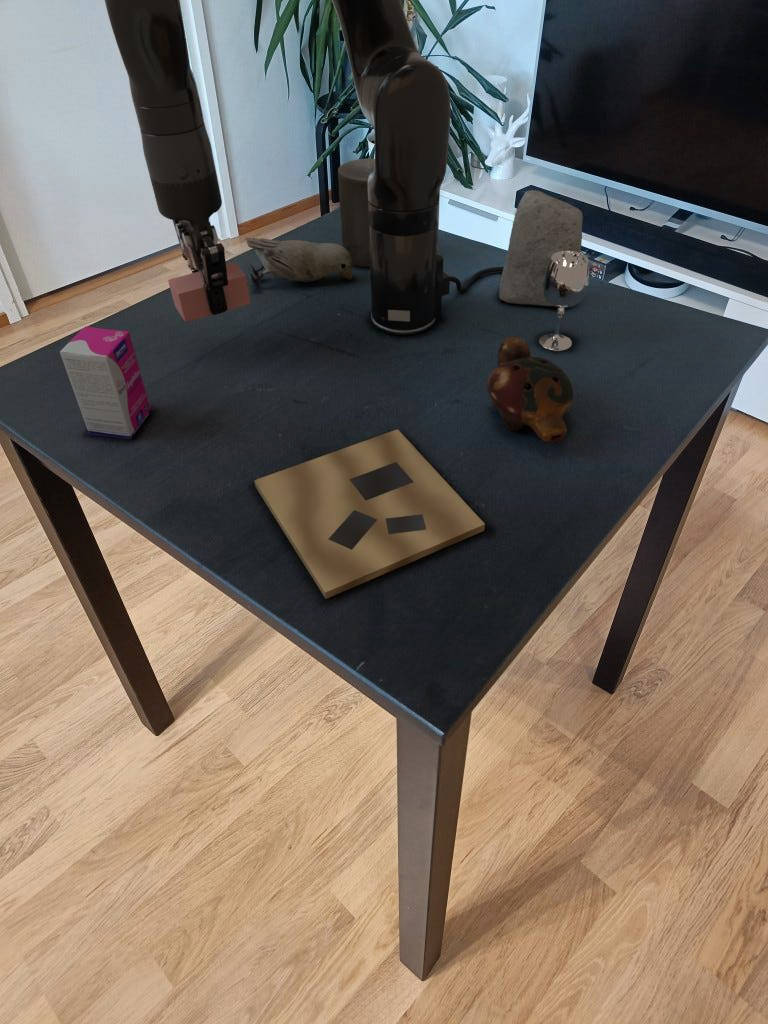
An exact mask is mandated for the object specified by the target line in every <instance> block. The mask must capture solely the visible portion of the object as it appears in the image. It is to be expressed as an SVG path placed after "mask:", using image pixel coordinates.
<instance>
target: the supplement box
mask: <svg viewBox="0 0 768 1024" xmlns="http://www.w3.org/2000/svg"><path fill="white" fill-rule="evenodd" d="M59 354H60V357H61V360H62V362H63V365H64V369H65V371H66V373H67V377H68V379H69V382H70V385H71V387H72V390H73V393H74V396H75V399H76V402H77V404H78V407H79V409H80V413H81V415H82V418H83V421H84V424H85V426H86V430H87V433H88V434H89V435H91V436H92V435H93V436H100V437H110V438H117V439H122V440H132V439H133V437H134V436H135V434H136V433H137V431H138V430H139V428H140V427H141V426H142V424H143V423H144V421H145V420H146V419H147V418H148V417H149V416H150V415H151V413H152V409H151V406H150V402H149V400H148V399H149V398H148V396H147V391H146V388H145V384H144V380H143V378H142V373H141V369H140V366H139V362H138V360H137V356H136V352H135V349H134V344H133V341H132V337H131V333H130V331H127V330H118V329H107V328H100V327H92V326H84V327H82V329H81V330H80V331H79V332H78V333H77V334H76V335H75V336H74V337H73V338H71V340H70V341H69V342H68V343H67V344H66V345H65V346H64V347H63V348H61V350H60V351H59Z"/></svg>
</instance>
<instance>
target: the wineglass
mask: <svg viewBox="0 0 768 1024" xmlns="http://www.w3.org/2000/svg"><path fill="white" fill-rule="evenodd" d="M589 283H590V262H589V258H588V256H587V255H586V254H585V253H582V252H580V253H579V252H575V251H560V252H556V253H554V254H553V255H552V256H551V259H550V261H549V263H548V266H547V269H546V271H545V275H544V279H543V294H544V297H545V299H546V300H547V301H548V302H549V303H550V304H552V305H554V306H553V307H555V306H557V310H556V327H555V331H554V332H551V333H550V332H549V333H545V334H543V335H541V336H540V338H539V340H538V343H539V345H540V346H541V347H542V348H544V349H546V350H549V351H553V352H562V351H566V350H568V349H570V348H571V347H572V345H573V341H572V339H571V338H570V337H568V336H567V335H565V334H562V333H560V329H561V323H562V320H563V317H564V316H565V308H566V309H567V308H572V307H575V306H577V305H579V303H581V302H582V301H583V300H584V298H585V297H586V295H587V292H588V289H589Z"/></svg>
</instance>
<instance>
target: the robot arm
mask: <svg viewBox="0 0 768 1024" xmlns="http://www.w3.org/2000/svg"><path fill="white" fill-rule="evenodd" d="M331 2H332V5H333V7H334V10H335V13H336V15H337V18H338V22H339V24H340V28H341V32H342V36H343V39H344V44H345V49H346V52H347V57H348V61H349V65H350V69H351V74H352V79H353V83H354V89H355V92H356V93H355V94H356V97H357V100H358V104H359V107H360V109H361V112H362V114H363V116H364V117H365V119H366V121H367V122H368V123H369V125H370V126H371V127H372V128H373V129H374V131H373V132H374V133H373V134H374V159H375V166H374V171H373V172H372V173H371V174H370V175H369V177H368V183H367V188H368V218H369V247H370V267H369V271H370V272H369V275H370V277H369V278H370V302H371V303H370V304H371V305H370V321H371V323H372V325H373V326H374V327H375V328H376V329H377V330H379V331H381V332H384V333H385V334H390V335H395V336H411V335H417V334H421V333H423V332H426V331H428V330H429V329H431V328H432V327H433V326H435V323H436V322H439V321H441V320H442V306H443V305H442V304H443V296H446V295H449V294H450V284H451V282H452V283H455V287H456V291H458V292H459V293H464V292H466V291H467V290H468V289H469V288H470V287H471V285H472V284H473V283H474V282H475V281H476V280H477V279H478V278H479V277H481V276H483V275H486V274H490V273H498V272H499V273H500V272H501V273H503V268H504V266H493V267H488V268H484V269H481V270H479V271H477V272H475V273H474V274H473V275H472V276H471V277H469V279H468V280H467V282H466V283H465V284H464V285H463V286H462V282H461V280H460V279H459V278H457V277H456V276H452V275H451V276H450V275H449V274H447V273H446V272H445V271H444V260H445V259H444V256H443V255H442V254H441V253H440V252H439V231H440V230H439V225H440V199H441V198H440V197H441V186H442V184H443V181H445V178H446V177H445V176H446V172H447V168H448V167H447V166H448V154H449V142H450V131H451V129H450V127H451V94H450V90H449V89H450V88H449V84H448V82H447V80H446V79H447V78H446V77H445V75H444V74H443V72H442V71H441V70H440V68H439V67H438V66H437V65H435V64H434V63H433V62H431V61H430V60H429V59H427V58H425V57H424V56H423V55H421V54H420V52H419V50H418V48H417V45H416V42H415V40H414V37H413V34H412V31H411V29H410V26H409V23H408V19H407V17H406V13H405V10H404V7H403V3H402V0H331ZM104 4H105V8H106V12H107V15H108V20H109V22H110V23H109V24H110V27H111V29H112V34H113V36H114V39H115V42H116V45H117V48H118V51H119V54H120V57H121V60H122V62H123V66H124V68H125V71H126V74H127V77H128V83H129V88H130V95H131V99H132V104H133V107H134V111H135V115H136V119H137V123H138V126H139V127H138V128H139V131H140V136H141V142H142V143H141V144H142V150H143V156H144V161H145V164H146V167H147V171H148V175H149V179H150V183H151V187H152V191H153V194H154V198H155V202H156V205H157V209H158V210H157V211H158V213H159V214H160V215H161V216H163V217H164V218H166V219H168V220H171V221H172V223H173V224H172V225H173V226H174V230H175V234H176V237H177V239H178V243H179V246H180V250H181V255H182V258H183V259H184V261H186V262H187V267H188V269H189V270H190V271H191V274H192V273H195V272H200V276H201V279H202V282H203V283H202V285H203V287H204V288H205V293H206V297H207V301H208V305H209V310H210V312H211V313H212V314H213V315H212V316H216V315H219V314H223V313H226V312H227V311H228V310H227V303H226V299H225V294H224V289H223V286H227V285H228V278H227V270H226V264H227V262H226V254H225V249H226V248H225V246H224V245H223V243H222V242H219V243H218V239H219V237H218V232H217V230H216V227H215V225H214V224H212V225H211V222H210V218H211V217H212V215H214V214H215V213H217V212H218V211H219V210H220V209H221V207H222V205H223V200H222V199H223V198H222V195H221V190H220V184H219V178H218V173H217V169H216V164H215V158H214V153H213V147H212V144H211V143H212V142H211V140H210V137H209V133H208V129H207V128H206V124H205V119H204V114H203V109H202V103H201V99H200V93H199V89H198V85H197V81H196V78H195V75H194V73H193V72H194V71H193V70H192V68H191V65H190V64H191V61H190V54H189V49H188V41H187V36H186V30H185V29H186V28H185V24H184V17H183V11H182V5H181V4H182V3H181V0H104ZM214 274H216V275H217V276H214V277H212V275H214Z"/></svg>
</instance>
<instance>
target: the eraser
mask: <svg viewBox="0 0 768 1024" xmlns="http://www.w3.org/2000/svg"><path fill="white" fill-rule="evenodd" d="M226 270H227V278H228V285H227V286H223V289H224V294H225V299H226V303H227V311H231V310H234V309H238V308H242V307H245V306H248V305H251V304H252V301H251V296H250V290H249V286H248V280H247V276H246V275H247V274H245V273H244V272H243V271H242V269H240V267H239V266H238V265H237V264H236V263H235V262H229V263H226ZM214 276H217V275H216V274H214V275H212V277H214ZM167 282H168V286H169V289H170V293H171V296H172V301H173V304H174V308H175V309H176V311H177V312H178V313H179V315H180V317H181V318H182V320H183V321H184V323H189V322H192V321H196V320H199V319H203V318H207V317H209V316H214V315H213V314H212V313H211V312H210V310H209V305H208V301H207V297H206V293H205V288H204V287H203V285H202V283H203V282H202V279H201V276H200V272H195V273H192V272H191V273H188V274H185V275H181V276H177V277H174V278H169V279H167Z"/></svg>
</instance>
